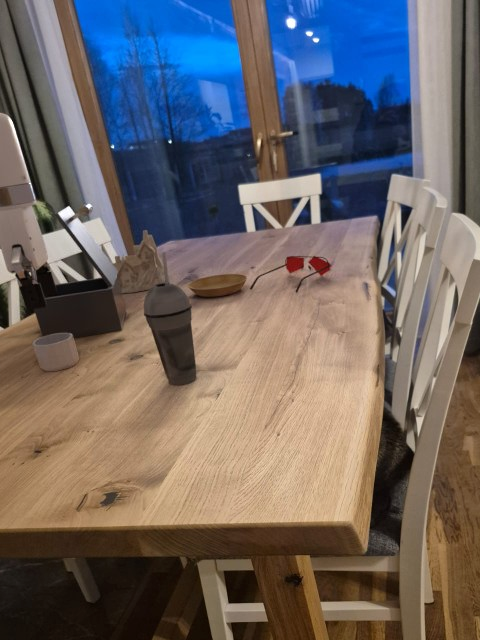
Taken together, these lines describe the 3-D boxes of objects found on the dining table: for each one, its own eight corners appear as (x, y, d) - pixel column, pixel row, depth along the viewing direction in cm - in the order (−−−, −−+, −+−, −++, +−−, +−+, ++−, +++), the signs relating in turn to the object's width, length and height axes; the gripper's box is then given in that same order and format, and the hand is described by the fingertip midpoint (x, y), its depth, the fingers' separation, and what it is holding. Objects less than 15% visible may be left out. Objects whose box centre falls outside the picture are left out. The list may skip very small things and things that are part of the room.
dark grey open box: (44, 343, 119) (31, 301, 116) (56, 324, 132) (44, 285, 128) (122, 330, 122) (111, 288, 118) (126, 313, 134) (117, 275, 130)
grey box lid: (54, 215, 110) (77, 199, 110) (65, 207, 123) (87, 194, 122) (109, 287, 118) (131, 273, 117) (115, 274, 130) (135, 261, 130)
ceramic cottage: (173, 274, 167) (158, 221, 160) (165, 290, 152) (149, 233, 145) (120, 284, 167) (103, 232, 160) (107, 301, 152) (88, 244, 146)
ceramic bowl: (37, 374, 102) (28, 348, 100) (44, 361, 108) (36, 336, 106) (76, 368, 103) (69, 341, 101) (82, 355, 109) (74, 330, 107)
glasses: (333, 275, 145) (331, 255, 143) (297, 293, 133) (294, 271, 131) (288, 273, 153) (285, 254, 151) (249, 290, 141) (246, 269, 139)
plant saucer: (212, 282, 153) (211, 273, 151) (259, 284, 146) (258, 273, 144) (177, 298, 141) (175, 288, 140) (226, 300, 134) (224, 289, 133)
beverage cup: (156, 377, 95) (128, 254, 86) (200, 367, 97) (176, 246, 88) (163, 392, 89) (133, 262, 80) (209, 381, 91) (185, 253, 82)
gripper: (0, 197, 101) (31, 293, 108) (-31, 206, 85) (8, 318, 92) (44, 191, 102) (72, 287, 109) (21, 199, 86) (56, 310, 93)
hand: (43, 301), depth 101 cm, fingers open, 9 cm apart
